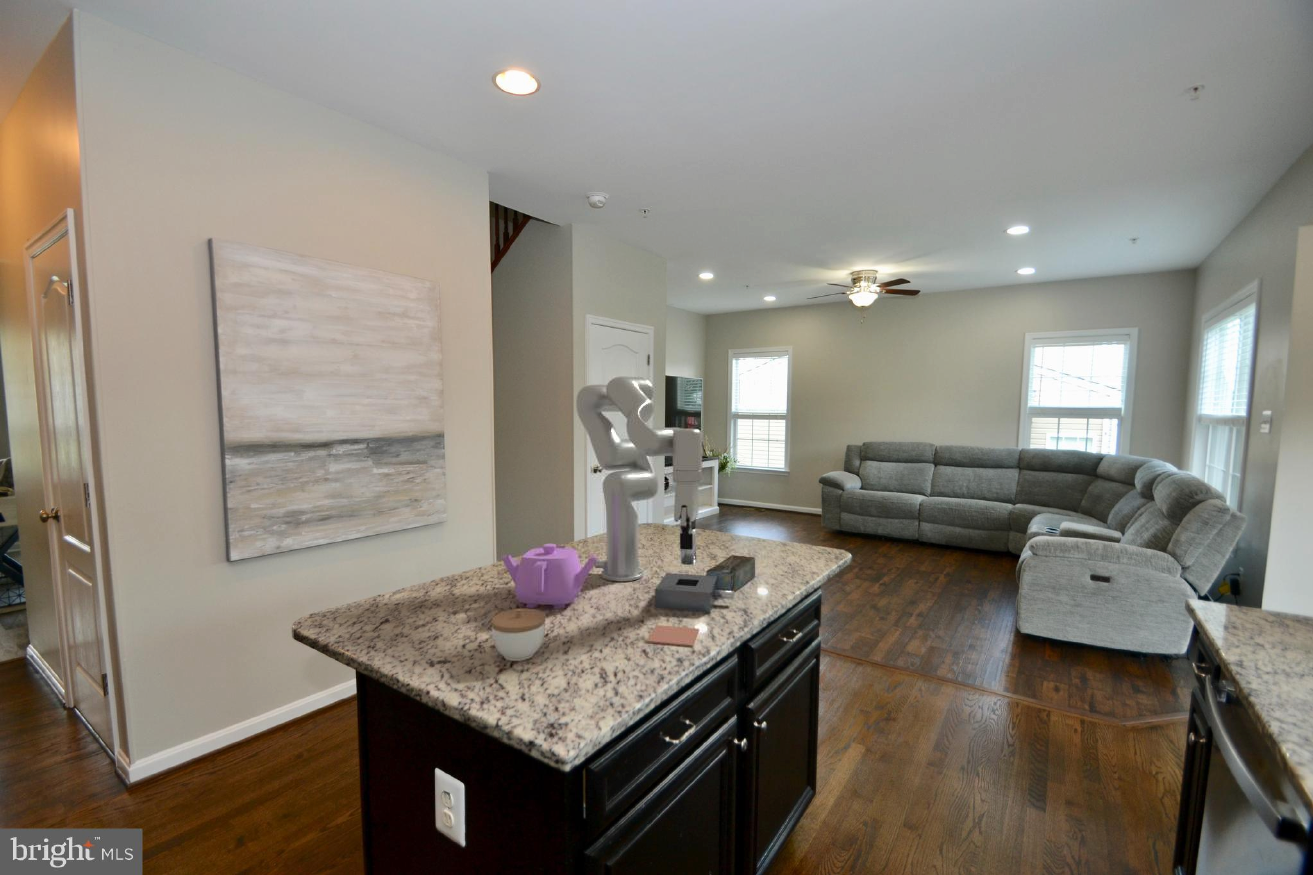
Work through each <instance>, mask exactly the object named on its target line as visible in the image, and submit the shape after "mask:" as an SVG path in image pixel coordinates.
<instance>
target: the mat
mask: <svg viewBox="0 0 1313 875" xmlns="http://www.w3.org/2000/svg"><path fill="white" fill-rule="evenodd" d="M699 632H700V628H696V627H695V628H694V627H693V628H692V627H685V626H684V627H682V626H670V625H660V624H656V625H655V626H654V628H653V630H652V631H651V632H650V634H649V636H648V637H647V639H646V643H647V644H648V643H649V644H656V645H657V644H661V645H668V644H670V646H678V645H679V647H689V648H690V647H691V648H692V647H694V644H695V642H696V639H697V636H698V634H699Z"/></svg>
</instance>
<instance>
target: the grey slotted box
mask: <svg viewBox="0 0 1313 875" xmlns="http://www.w3.org/2000/svg"><path fill="white" fill-rule="evenodd" d="M717 599H725V600H726V599H728V600H734V599H735V592H734V591H724V590H718V576H706V575H702V574H688V573H687V574H686V573H671V572H667V573H665V575H664V576H663V578H662V579H661V580H660V582H659V583H658V584H657V586H656V587H655V588H654V609H657V610H658V609H659V610H668V611H669V610H670V611H671V610H672V611H682V612H683V611H684V612H694V613H708V614H709V613H710V614H711V612H712V610H713V607H714V605H715V602H716V600H717Z"/></svg>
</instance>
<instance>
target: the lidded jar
mask: <svg viewBox="0 0 1313 875" xmlns="http://www.w3.org/2000/svg"><path fill="white" fill-rule="evenodd" d="M490 623H491V629H492V630H491V631H492V632H491V633H492V639H493V644H494V647H495V648H496V650H497V652H498V653H499V654H500V655H502V656H503V658H504V660H507V661H510V662H520V661H525V660H528V659H530V658H532V657H533V656H535V654H536V652H537V651H538V650H539V648H540V647H541V646H542V643H543V641H544V638H545V637H544V636H545V630H546V614H545V613H544V612H543V611H541V610H539V609H535V608H515V609H509V610H505V611H501V612H499V613H497V614H496V615H494V616H493V617H492V618H491V622H490Z"/></svg>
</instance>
